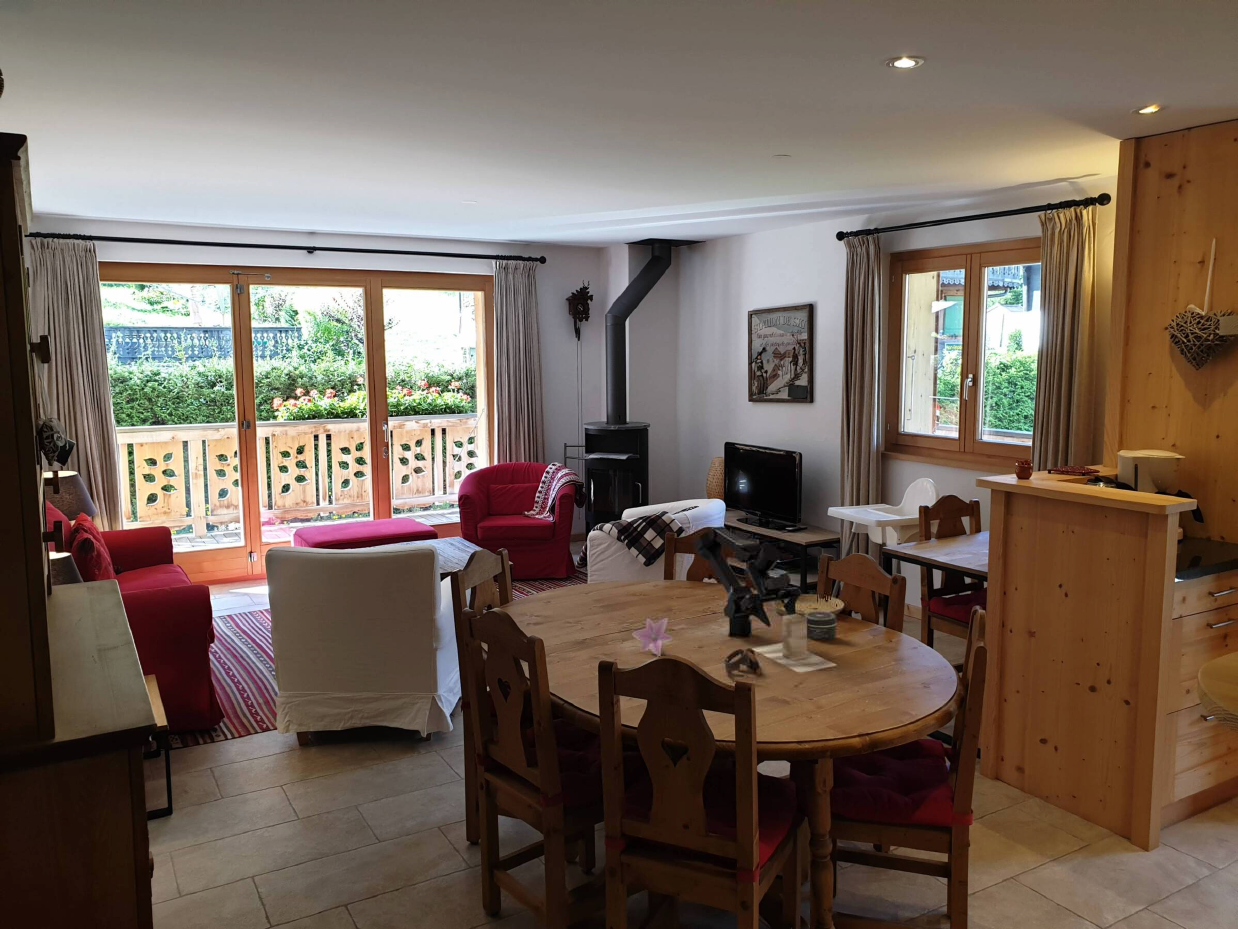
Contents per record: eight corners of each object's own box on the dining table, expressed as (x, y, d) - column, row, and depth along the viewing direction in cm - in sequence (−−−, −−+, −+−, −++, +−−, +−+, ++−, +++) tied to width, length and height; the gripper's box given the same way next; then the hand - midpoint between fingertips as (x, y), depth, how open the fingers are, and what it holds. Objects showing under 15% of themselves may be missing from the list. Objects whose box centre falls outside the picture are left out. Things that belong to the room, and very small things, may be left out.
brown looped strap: (760, 684, 247) (745, 659, 246) (731, 693, 251) (716, 669, 250) (769, 659, 257) (755, 636, 256) (741, 669, 262) (727, 646, 261)
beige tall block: (782, 656, 264) (782, 616, 263) (795, 653, 266) (795, 613, 265) (793, 661, 259) (793, 620, 258) (806, 658, 261) (806, 618, 260)
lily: (629, 650, 279) (624, 628, 273) (658, 630, 284) (654, 608, 278) (654, 671, 270) (650, 649, 265) (684, 650, 275) (680, 628, 270)
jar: (836, 644, 277) (837, 620, 276) (803, 643, 279) (803, 619, 278) (835, 634, 286) (836, 611, 286) (803, 633, 288) (803, 610, 288)
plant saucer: (759, 608, 319) (759, 599, 318) (815, 599, 328) (815, 590, 328) (800, 626, 297) (800, 616, 296) (858, 616, 307) (859, 606, 306)
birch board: (750, 651, 272) (750, 648, 272) (786, 645, 277) (786, 641, 277) (799, 676, 250) (799, 672, 250) (837, 668, 256) (837, 665, 256)
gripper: (746, 568, 265) (767, 615, 257) (798, 561, 273) (820, 606, 265) (731, 588, 274) (751, 634, 265) (782, 580, 281) (803, 624, 273)
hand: (782, 624), depth 267 cm, fingers open, 9 cm apart
